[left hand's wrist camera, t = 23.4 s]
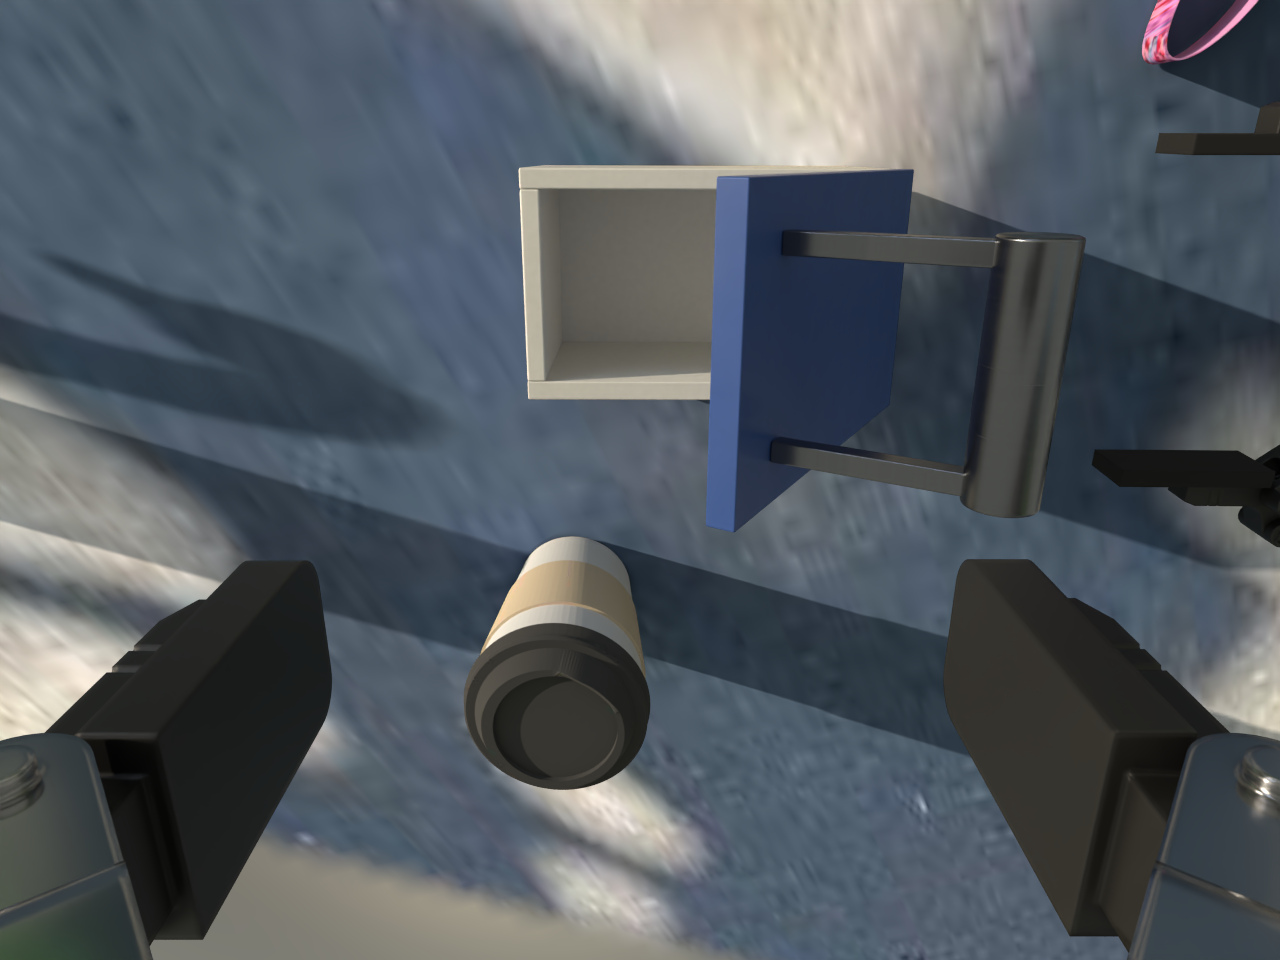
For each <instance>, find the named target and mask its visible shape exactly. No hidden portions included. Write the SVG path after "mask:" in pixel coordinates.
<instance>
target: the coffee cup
mask: <svg viewBox="0 0 1280 960" xmlns="http://www.w3.org/2000/svg"><path fill="white" fill-rule="evenodd" d="M464 714H465V720H466V724H467V728H468V730H469V733H470V735H471V737H472V739H473V741H474V743H475V744H476V746H477V747H478V749H479V750H480V751H481V753H482V754H483V755H484V756H485V757H486V758H487V759H488V760H489V761H490V762H491V763H492V764H493V765H494V766H496V767H497V768H498V769H500V770H501V771H502V772H504V773H506V774H507V775H509V776H511V777H513V778H515V779H517V780H519V781H522V782H524V783H527V784H530V785H533V786H537V787H541V788H547V789H557V790H569V789H579V788H584V787H589V786H592V785H595V784H598V783H601V782H603V781H605V780H608V779H609V778H611V777H613V776H615V775H616V774H618V773H619V772H620V771H622V770H623V769H624V768H625V767H626V766H627V765H628V764H629V763H630V762H631V761H632V760H633V759H634V757H635V756H636V755H637V753H638V752H639V750H640V748H641V746H642V744H643V741H644V738H645V735H646V730H647V724H648V720H649V714H650V695H649V690H648V686H647V682H646V680H645V665H644V659H643V653H642V646H641V640H640V633H639V627H638V621H637V614H636V609H635V606H634V603H633V601H632V595H631V588H630V581H629V576H628V573H627V570H626V568H625V566H624V565H623V563H622V561H621V560H620V559H619V558H618V556H617V555H616V554H615V553H614V552H612V551H611V550H610V549H609V548H607V547H606V546H604V545H602V544H601V543H599V542H596V541H594V540H591V539H587V538H582V537H562V538H557V539H554V540H551V541H549V542H547V543H545V544H543V545H541V546H540V547H538V548H537V549H536V550H535V551H534V552H533V553H532V554H531V555H530V556H529V557H528V559H527V560H526V562H525V564H524V566H523V568H522V570H521V572H520V575H519V577H518V579H517V581H516V582H515V583H514V585H513V586H512V588H511V589H510V591H509V593H508V595H507V597H506V599H505V601H504V603H503V605H502V608H501V610H500V612H499V614H498V616H497V618H496V620H495V622H494V625H493V627H492V629H491V631H490V633H489V635H488V637H487V640H486V642H485V644H484V646H483V648H482V651H481V654H480V656H479V657H478V659H477V660H476V661H475V663H474V665H473V666H472V668H471V670H470V672H469V675H468V678H467V681H466V685H465V690H464Z"/></svg>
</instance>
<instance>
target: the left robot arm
mask: <svg viewBox="0 0 1280 960" xmlns="http://www.w3.org/2000/svg"><path fill="white" fill-rule="evenodd" d="M1139 645H1140V644H1139V643H1138V642H1137V641H1136V640H1135V639H1134V638H1133V637H1132V636H1131V635H1130V634H1129V633H1128V632H1127V631H1126V630H1125V629H1124V628H1123V627H1121V626H1120V625H1119V624H1118V623H1117V622H1116V621H1115V620H1114V619H1113V618H1111V617H1109V616H1107V615H1105V614H1103V613H1102V612H1100V611H1098V610H1096V609H1094V608H1092V607H1091V606H1089V605H1087V604H1085V603H1083V602H1081V601H1080V600H1078V599H1076V598H1067V597H1066V596H1065V595H1064V594H1063V593H1062V592H1061V591H1060V590H1059V589H1058V587H1057V586H1056V585H1055V584H1054V583H1053V582H1052V581H1051V580H1050V579H1049V578H1048V577H1047V576H1046V575H1045V574H1044V573H1043V572H1042V571H1041V570H1040V569H1039V568H1038V567H1037V566H1036V565H1035V564H1034V563H1033V562H1032V561H1030V560H1028V559H967V560H965V561H964V562H963V563H962V565H961V566H960V569H959V571H958V575H957V579H956V585H955V593H954V600H953V607H952V614H951V622H950V629H949V636H948V643H947V651H946V658H945V665H944V678H943V681H944V695H945V701H946V706H947V710H948V713H949V716H950V719H951V721H952V723H953V725H954V727H955V728H956V730H957V732H958V734H959V736H960V738H961V739H962V741H963V743H964V745H965V747H966V748H967V750H968V752H969V754H970V756H971V758H972V759H973V761H974V763H975V765H976V767H977V768H978V770H979V772H980V774H981V776H982V778H983V779H984V781H985V783H986V785H987V787H988V788H989V790H990V792H991V794H992V796H993V798H994V799H995V801H996V803H997V805H998V807H999V808H1000V810H1001V812H1002V814H1003V816H1004V818H1005V819H1006V821H1007V823H1008V825H1009V827H1010V828H1011V830H1012V832H1013V834H1014V836H1015V837H1016V839H1017V841H1018V843H1019V845H1020V847H1021V848H1022V850H1023V852H1024V854H1025V856H1026V857H1027V859H1028V861H1029V863H1030V865H1031V867H1032V868H1033V870H1034V872H1035V874H1036V876H1037V877H1038V879H1039V881H1040V883H1041V885H1042V887H1043V888H1044V890H1045V892H1046V894H1047V896H1048V897H1049V899H1050V901H1051V903H1052V905H1053V907H1054V908H1055V910H1056V912H1057V914H1058V916H1059V917H1060V919H1061V921H1062V923H1063V925H1064V927H1065V928H1066V930H1067V932H1068V934H1069V936H1119V938H1120V940H1121V941H1122V943H1123V944H1124V946H1125V948H1126V949H1127V951H1128V953H1129V954H1128V958H1127V960H1280V741H1278V740H1274V739H1271V738H1266V737H1261V736H1256V735H1250V734H1241V733H1230V732H1229V731H1228V730H1227V729H1226V728H1225V727H1224V726H1223V725H1222V724H1221V723H1220V722H1219V721H1218V720H1216V719H1215V718H1214V717H1213V716H1212V715H1211V714H1210V713H1209V712H1208V711H1207V710H1206V709H1205V708H1204V707H1203V706H1202V705H1201V704H1200V703H1199V702H1198V701H1197V700H1196V699H1195V698H1194V697H1193V696H1192V695H1191V694H1190V693H1189V692H1188V691H1187V690H1186V689H1185V688H1184V687H1183V686H1182V685H1181V684H1180V683H1179V682H1178V681H1177V680H1176V679H1175V678H1174V677H1173V676H1172V675H1171V674H1169V673H1168V672H1167V671H1162V670H1161V665H1160V664H1159V663H1158V662H1157V661H1156V660H1155V659H1154V658H1153V657H1152V656H1151V655H1150V654H1149V653H1148V652H1147V651H1146V650H1145V649H1140V647H1139ZM331 690H332V673H331V664H330V657H329V650H328V643H327V636H326V629H325V621H324V614H323V607H322V600H321V593H320V586H319V580H318V576H317V572H316V570H315V567H314V566H313V564H312V563H311V562H309V561H245V562H243V563H242V564H241V565H240V566H239V567H238V568H237V569H236V570H235V571H234V572H233V573H232V574H231V575H230V576H229V577H228V578H227V579H226V580H225V581H224V582H223V583H222V584H221V585H220V586H219V587H218V588H217V589H216V590H215V591H214V592H213V593H212V594H211V595H210V596H209V597H208V598H207V599H206V600H197V601H196V602H194V603H192V604H190V605H188V606H186V607H185V608H183V609H181V610H179V611H177V612H175V613H174V614H172V615H170V616H168V617H166V618H164V619H163V620H161V621H159V622H158V623H157V624H156V625H155V626H154V627H153V628H152V629H151V630H150V631H149V632H148V633H147V634H146V635H145V636H144V637H143V638H142V639H141V640H140V641H139V642H138V643H137V644H136V645H135V646H134V651H128V652H127V653H126V654H125V655H124V656H123V657H122V658H121V659H120V660H119V661H118V662H117V663H116V664H115V665H114V666H113V667H112V673H106V674H105V675H104V676H103V677H102V678H101V679H100V680H98V681H97V682H96V683H95V684H94V685H93V686H92V687H91V688H90V689H89V690H88V691H87V692H86V693H85V694H84V695H83V696H82V697H81V698H80V699H79V700H78V701H77V702H76V703H75V704H74V705H73V706H72V707H71V708H70V709H69V710H68V711H67V712H65V713H64V714H63V715H62V716H61V717H60V718H59V719H58V720H57V721H56V722H55V723H54V724H53V725H52V726H51V727H50V728H49V729H48V730H47V731H46V732H45V733H39V734H30V735H24V736H19V737H14V738H9V739H6V740H2V741H0V960H153V958H152V954H151V951H150V945H151V943H152V942H153V940H203V939H204V937H205V935H206V933H207V932H208V930H209V928H210V926H211V924H212V923H213V921H214V919H215V917H216V915H217V914H218V912H219V910H220V908H221V906H222V905H223V903H224V901H225V899H226V897H227V896H228V894H229V892H230V890H231V888H232V887H233V885H234V883H235V881H236V879H237V878H238V876H239V874H240V872H241V870H242V869H243V867H244V865H245V863H246V861H247V860H248V858H249V856H250V854H251V853H252V851H253V849H254V847H255V845H256V844H257V842H258V840H259V838H260V836H261V835H262V833H263V831H264V829H265V827H266V826H267V824H268V822H269V820H270V818H271V817H272V815H273V813H274V811H275V809H276V808H277V806H278V804H279V802H280V800H281V799H282V797H283V795H284V793H285V792H286V790H287V788H288V786H289V784H290V783H291V781H292V779H293V777H294V775H295V774H296V772H297V770H298V768H299V766H300V765H301V763H302V761H303V759H304V757H305V756H306V754H307V752H308V750H309V748H310V747H311V745H312V743H313V741H314V739H315V738H316V736H317V734H318V732H319V730H320V729H321V727H322V725H323V723H324V721H325V719H326V716H327V713H328V709H329V704H330V699H331Z"/></svg>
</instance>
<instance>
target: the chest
mask: <svg viewBox="0 0 1280 960" xmlns="http://www.w3.org/2000/svg"><path fill="white" fill-rule="evenodd" d="M884 169H886V168H868V167H849V166H596V165H543V166H534V167H524V168H519V186H520V189H521V190H520V208H521V232H522V256H523V279H524V303H525V327H526V351H527V374H528V398H529V399H586V400H710V379H711V347H712V315H713V283H714V251H715V219H716V187H717V177H718V176H737V175H762V174H786V173H811V172H835V171H859V170H884Z"/></svg>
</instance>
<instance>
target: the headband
mask: <svg viewBox="0 0 1280 960" xmlns="http://www.w3.org/2000/svg"><path fill="white" fill-rule="evenodd" d="M1258 1H1259V0H1236V1H1235V2H1234V3H1233V5H1232V6H1231V7H1230V8H1229V9H1228V11H1227V12H1226V13H1225V14H1224V15H1223V16H1222V17H1221V18H1220V20H1219V21H1218V22H1217V23H1216V24H1215V25H1214V26H1213V27H1212V28H1211V29H1210V30H1209V31H1208V32H1207V33H1206V34H1204V35H1203V36H1202V37H1201V38H1200V39H1199V40H1198V41H1196V42H1195V43H1194V44H1193V45H1191V46H1190V47H1189V48H1187V49H1186V50H1184V51H1183V52H1181V53H1179V54H1178V55H1176V56H1174V57H1172V56H1171V55H1170V54H1169V53H1168V50H1167V37H1168V32H1169V29H1170V25H1171V22H1172V19H1173V16H1174V14H1175V11H1176V9H1177V6H1178V4H1179V2H1180V0H1158V2H1157V4H1156V6H1155V9H1154V11H1153V13H1152V16H1151V18H1150V21H1149V24H1148V26H1147V29H1146V33H1145V36H1144V40H1143V46H1142V54H1143V58H1144V60H1145V61H1146V62H1147V63H1149V64H1161V63H1166V62H1172V61H1178V60H1183V59H1187V58H1190V57H1192V56H1194V55H1196V54H1198V53H1200V52H1202V51H1203V50H1205V49H1207V48H1208V47H1210V46H1211V45H1213V44H1214V43H1215V42H1217V41H1218V40H1219V39H1220V38H1222V37H1223V36H1224V35H1225V34H1226V33H1228V32H1229V31H1230V30H1231V29H1232V28H1233V27H1234V26H1235V25H1236V24H1237V23H1238V22H1239V21H1240V20H1241V19H1242V18H1243V17H1244V16H1245V15H1246V14H1247V13H1248V12H1249V11H1250V10H1251V9H1252V8H1253V6H1254V5H1255V4H1256V3H1257V2H1258Z"/></svg>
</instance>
